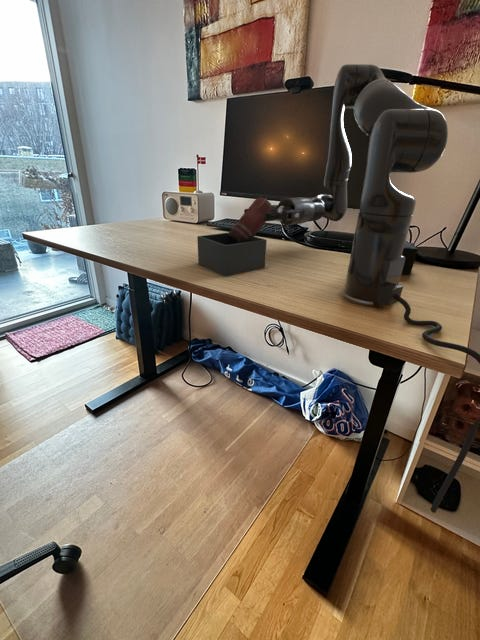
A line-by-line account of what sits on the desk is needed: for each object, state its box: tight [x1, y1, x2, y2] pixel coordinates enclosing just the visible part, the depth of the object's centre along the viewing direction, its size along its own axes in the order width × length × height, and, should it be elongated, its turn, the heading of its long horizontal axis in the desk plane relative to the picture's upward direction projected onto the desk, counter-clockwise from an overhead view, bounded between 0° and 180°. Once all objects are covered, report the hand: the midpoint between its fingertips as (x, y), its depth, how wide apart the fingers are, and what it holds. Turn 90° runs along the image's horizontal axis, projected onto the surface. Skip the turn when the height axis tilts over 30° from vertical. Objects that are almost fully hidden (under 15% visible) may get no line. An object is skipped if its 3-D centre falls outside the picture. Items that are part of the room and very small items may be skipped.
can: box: [227, 196, 273, 244], centre depth 84 cm, size 6×6×14 cm
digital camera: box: [401, 240, 419, 275], centre depth 82 cm, size 10×5×7 cm, turn 168°
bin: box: [196, 232, 268, 277], centre depth 81 cm, size 13×13×8 cm
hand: (254, 215), depth 81 cm, fingers open, 8 cm apart
